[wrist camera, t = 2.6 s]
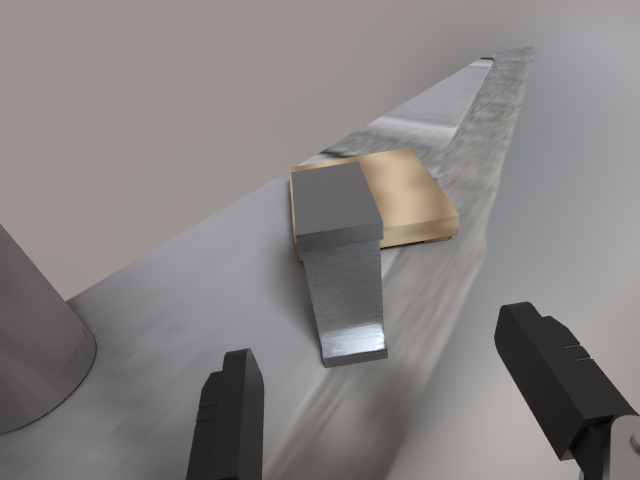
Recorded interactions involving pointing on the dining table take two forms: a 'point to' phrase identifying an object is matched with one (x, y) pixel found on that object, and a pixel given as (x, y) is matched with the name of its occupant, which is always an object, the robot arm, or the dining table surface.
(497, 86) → the dining table surface
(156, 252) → the dining table surface
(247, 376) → the robot arm
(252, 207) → the dining table surface
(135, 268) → the dining table surface
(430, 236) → the birch stand
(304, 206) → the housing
